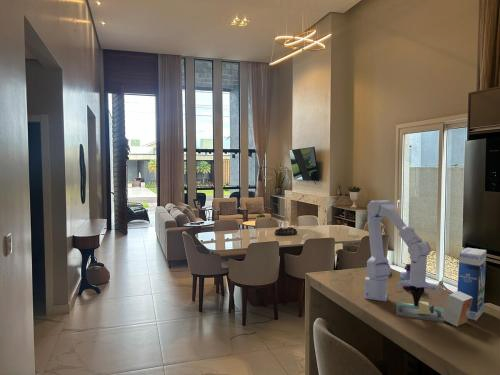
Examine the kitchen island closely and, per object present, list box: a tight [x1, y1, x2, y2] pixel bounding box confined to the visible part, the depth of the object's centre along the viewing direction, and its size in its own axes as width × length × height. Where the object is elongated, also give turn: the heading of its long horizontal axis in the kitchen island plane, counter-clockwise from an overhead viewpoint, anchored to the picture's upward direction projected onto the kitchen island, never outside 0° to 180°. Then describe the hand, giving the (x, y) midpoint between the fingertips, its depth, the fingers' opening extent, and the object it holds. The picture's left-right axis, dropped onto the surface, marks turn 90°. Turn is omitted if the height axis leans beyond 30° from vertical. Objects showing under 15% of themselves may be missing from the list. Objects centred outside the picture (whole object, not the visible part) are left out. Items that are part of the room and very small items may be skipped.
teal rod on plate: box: [395, 301, 446, 323], centre depth 145 cm, size 17×8×5 cm, turn 69°
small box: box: [443, 291, 473, 328], centre depth 138 cm, size 8×6×10 cm
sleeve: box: [418, 300, 430, 315], centre depth 144 cm, size 4×4×4 cm
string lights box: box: [456, 247, 487, 321], centre depth 147 cm, size 13×8×26 cm, turn 137°
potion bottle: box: [399, 263, 411, 291], centre depth 176 cm, size 9×9×12 cm
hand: (416, 305), depth 145 cm, fingers closed, pressing on teal rod on plate
